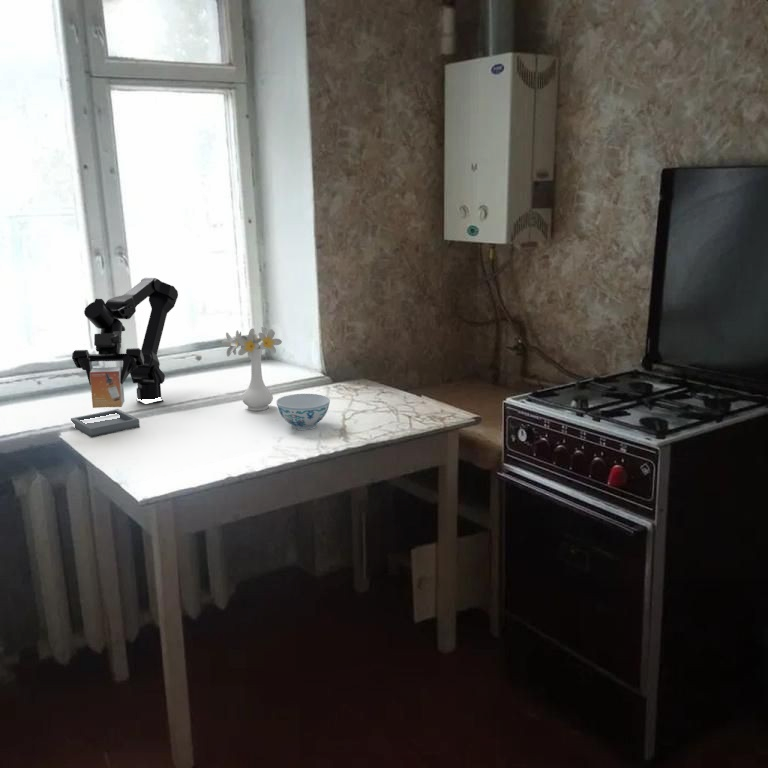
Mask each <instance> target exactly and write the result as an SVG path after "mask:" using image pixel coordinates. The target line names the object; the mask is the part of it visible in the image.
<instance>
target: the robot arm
mask: <svg viewBox="0 0 768 768" xmlns="http://www.w3.org/2000/svg"><path fill="white" fill-rule="evenodd" d="M147 298H148V303H149V306H150V307H151V311H150V313H149V314H150V315H149V318H148V323H147V327H146V330H145V332H144V333H145V334H144V338H143V342H142V345H141V348H139V347H138V348H137V347H135V348H134V347H133V348H126V349H125V353H121V348H122V333H123V332H125V331H126V328H125V325H123V322H122V321H121V320H130V319H131V318H132V317H133V315H134V314H135V313H136V311H137V310H136V309H137V306H139V305H140V304H141V303H142V302H144V301H145V300H146V299H147ZM178 298H179V291H178V290H177V289H176V287H175V286H174V285H171V284H168V283H167V282H164V281H161V280H160V279H158V278H156V277H144V278H142V279H141V280H140V281H139V282H138V283H136V285H134V286H133V287H132V288H131V289H129V290H128V291H127V292H126V293H124V294H122V295H117V296H114V297H111V298H109V299H108V300H106V302H105V301H104V300H103V298H95V299H94V301H93V302H91V303H88V305H87V306H86V307H85V308H84V311H83V314H84V316H85V317H86V318H87V319H88V320H89V322H91V324H93V326H94V327H95V328H96V329H100V333H94V338H93V339H94V340H93V341H94V342H93V343H94V346H95V351H96V352H97V353H98V354H97V353H96V354H95V353H93V354H90V352H89V350H88V349H75V350H74V351H73V352H72V355H71V358H72V361H73V363H74V365H75V367H76V368H77V369H82V371H85V373H86V376H87V379H88V384H89V386H91V382H90V371H91V370H92V369H93V368H94V367H93V365H92V363H93V362H122V366H121V367H122V372H121V379H120V383H121V384H123V385H124V382H126V380H127V378H128V376H129V375H130V377H131V381H132V383H133V384H137V388H136V399H137V398H138V399H141V400H142V399H155V398H158V397H161V398H162V389H161V388H162V387H161V384H164V382H165V378H166V375H165V373H164V372H163V371H162V370H161V368H160V367H161V366H160V364H161V363H160V360H159V357H158V352H159V347H160V343H161V338H162V337H163V336H162V335H163V333H164V332H163V331H164V328H165V323H166V320H167V316H168V315H167V314H168V313H169V312H171V310H172V309H173V308H174V307H175V304H176V302H177V300H178Z"/></svg>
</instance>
